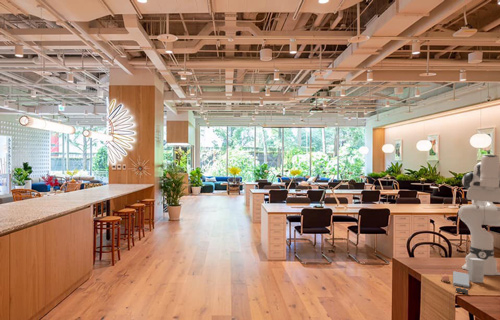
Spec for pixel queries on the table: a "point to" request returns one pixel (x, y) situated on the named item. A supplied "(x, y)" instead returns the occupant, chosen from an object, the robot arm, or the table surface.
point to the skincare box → (476, 270)
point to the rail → (462, 290)
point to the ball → (445, 277)
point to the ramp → (460, 279)
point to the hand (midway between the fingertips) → (488, 210)
